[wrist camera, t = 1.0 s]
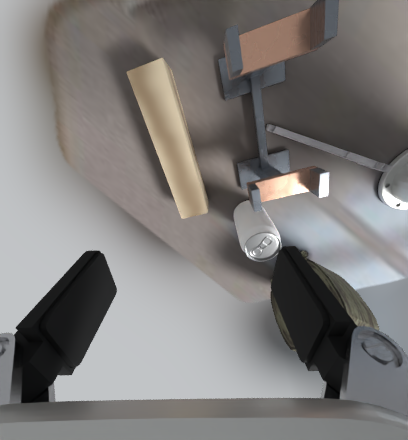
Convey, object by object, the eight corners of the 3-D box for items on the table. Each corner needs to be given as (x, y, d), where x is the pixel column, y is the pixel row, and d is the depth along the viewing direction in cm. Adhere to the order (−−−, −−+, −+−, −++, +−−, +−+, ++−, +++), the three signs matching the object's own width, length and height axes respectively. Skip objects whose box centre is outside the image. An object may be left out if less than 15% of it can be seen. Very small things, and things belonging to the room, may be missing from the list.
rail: (171, 70, 27) (162, 57, 22) (208, 200, 37) (208, 212, 32) (142, 81, 28) (126, 71, 23) (185, 205, 38) (181, 218, 32)
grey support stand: (280, 38, 25) (340, -36, 13) (288, 176, 34) (327, 202, 22) (218, 61, 26) (223, 12, 15) (241, 187, 35) (255, 218, 24)
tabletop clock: (302, 242, 41) (408, 380, 19) (330, 258, 43) (456, 400, 21) (262, 280, 47) (308, 417, 25) (288, 293, 49) (352, 430, 27)
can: (227, 217, 38) (233, 252, 28) (246, 193, 36) (260, 222, 25) (250, 231, 40) (264, 269, 29) (270, 209, 37) (293, 243, 27)
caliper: (369, 161, 32) (401, 168, 27) (364, 166, 33) (396, 175, 27) (267, 123, 30) (279, 123, 24) (264, 130, 30) (276, 131, 25)
